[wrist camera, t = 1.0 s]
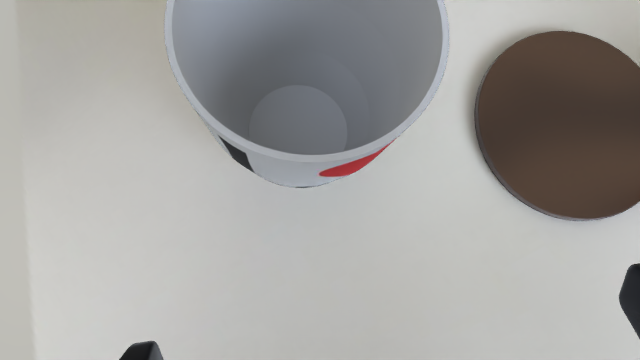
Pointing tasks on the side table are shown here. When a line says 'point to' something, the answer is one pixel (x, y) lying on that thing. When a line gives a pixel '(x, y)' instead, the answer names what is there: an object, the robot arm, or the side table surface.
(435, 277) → the side table surface
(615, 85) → the coaster
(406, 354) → the side table surface
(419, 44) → the cup
